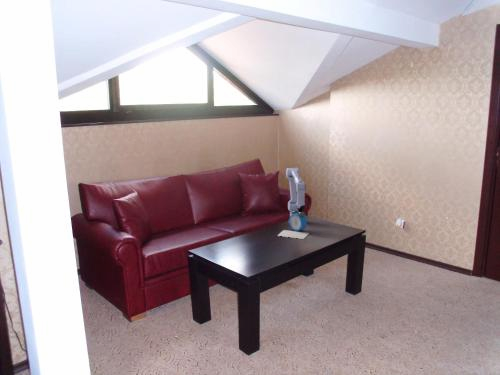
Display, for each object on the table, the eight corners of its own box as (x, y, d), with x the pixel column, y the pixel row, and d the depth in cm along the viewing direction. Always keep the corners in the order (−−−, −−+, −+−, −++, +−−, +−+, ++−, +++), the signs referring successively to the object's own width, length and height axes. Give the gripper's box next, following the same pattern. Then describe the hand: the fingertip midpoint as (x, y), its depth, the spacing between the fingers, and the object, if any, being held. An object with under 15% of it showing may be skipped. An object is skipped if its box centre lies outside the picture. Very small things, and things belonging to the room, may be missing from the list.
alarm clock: (288, 229, 313) (288, 210, 311) (293, 228, 318) (294, 209, 315) (301, 232, 304) (302, 213, 302) (307, 231, 308) (307, 211, 306)
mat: (283, 230, 312) (283, 230, 312) (309, 233, 304) (309, 233, 303) (277, 236, 299) (277, 235, 299) (303, 239, 291) (303, 238, 291)
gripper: (298, 195, 320) (297, 212, 323) (293, 199, 307) (293, 217, 310) (306, 196, 318) (306, 212, 320) (302, 200, 304) (302, 217, 307)
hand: (300, 215), depth 315 cm, fingers closed
